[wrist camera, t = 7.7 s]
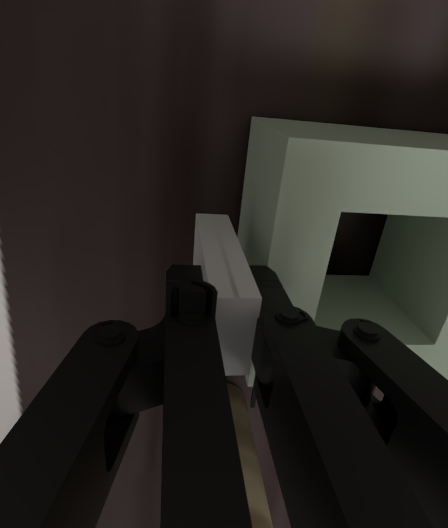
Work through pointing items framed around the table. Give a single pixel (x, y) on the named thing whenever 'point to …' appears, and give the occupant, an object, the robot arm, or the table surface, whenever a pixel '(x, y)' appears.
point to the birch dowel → (249, 460)
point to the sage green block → (358, 201)
